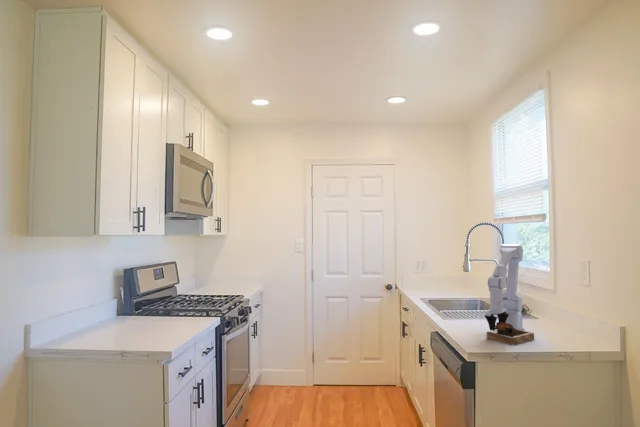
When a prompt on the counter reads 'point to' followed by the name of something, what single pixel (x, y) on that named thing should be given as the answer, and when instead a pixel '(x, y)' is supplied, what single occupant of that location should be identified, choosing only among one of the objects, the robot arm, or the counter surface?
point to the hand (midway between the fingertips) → (497, 329)
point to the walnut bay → (518, 337)
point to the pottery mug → (505, 329)
